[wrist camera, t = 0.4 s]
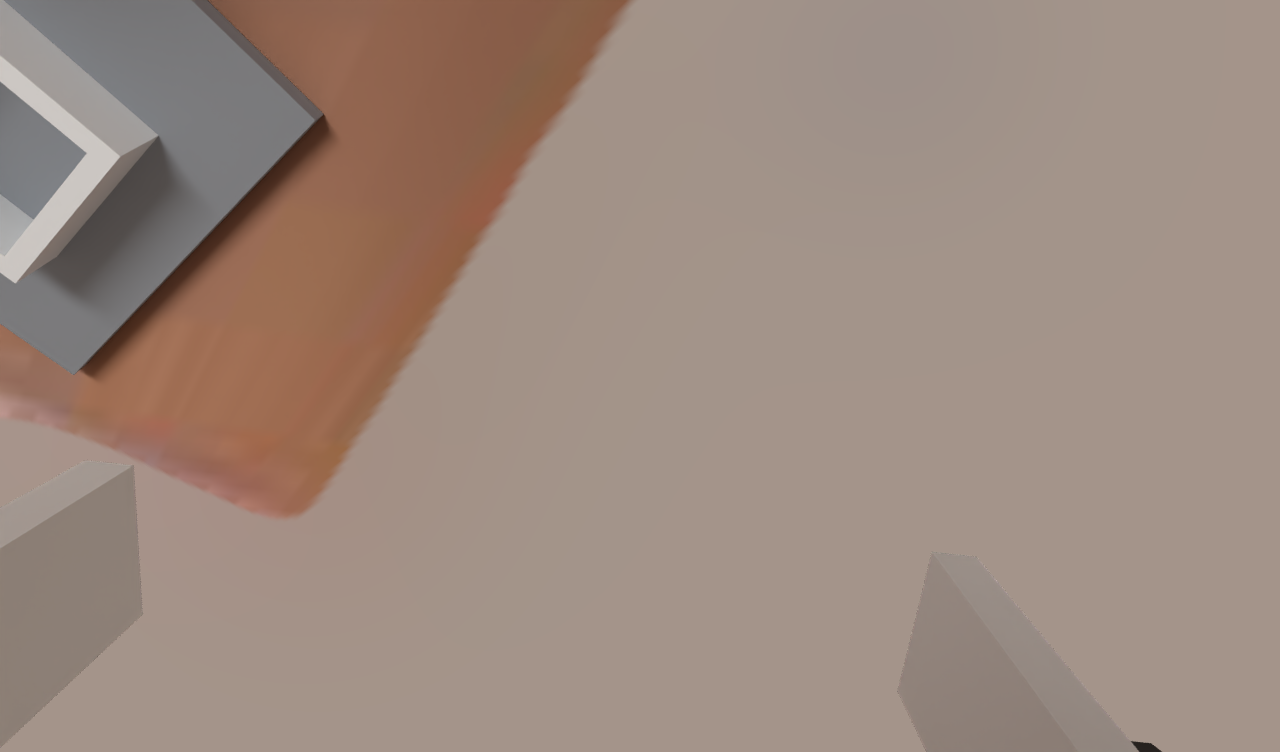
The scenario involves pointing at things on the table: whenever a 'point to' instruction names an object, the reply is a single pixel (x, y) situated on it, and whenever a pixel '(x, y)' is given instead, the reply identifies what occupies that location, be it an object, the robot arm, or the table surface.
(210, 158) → the keeper board
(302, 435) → the table surface
